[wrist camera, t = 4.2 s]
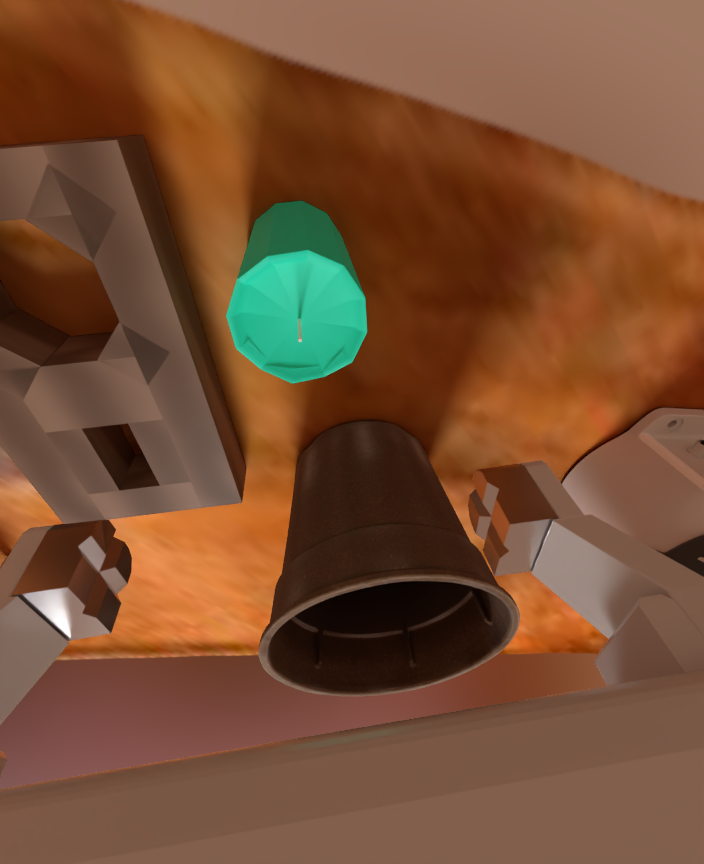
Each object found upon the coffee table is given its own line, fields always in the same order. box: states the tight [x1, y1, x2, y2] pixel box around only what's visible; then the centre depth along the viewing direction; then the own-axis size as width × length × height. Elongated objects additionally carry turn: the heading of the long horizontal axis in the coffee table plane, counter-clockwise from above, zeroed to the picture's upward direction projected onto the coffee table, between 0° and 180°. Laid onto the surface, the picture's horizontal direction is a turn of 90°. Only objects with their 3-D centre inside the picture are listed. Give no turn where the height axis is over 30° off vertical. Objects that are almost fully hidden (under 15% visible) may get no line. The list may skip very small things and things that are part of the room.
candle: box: [226, 201, 367, 384], centre depth 21 cm, size 6×6×12 cm
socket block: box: [0, 135, 246, 524], centre depth 27 cm, size 14×24×4 cm, turn 3°
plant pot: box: [259, 421, 520, 696], centre depth 32 cm, size 16×16×16 cm
